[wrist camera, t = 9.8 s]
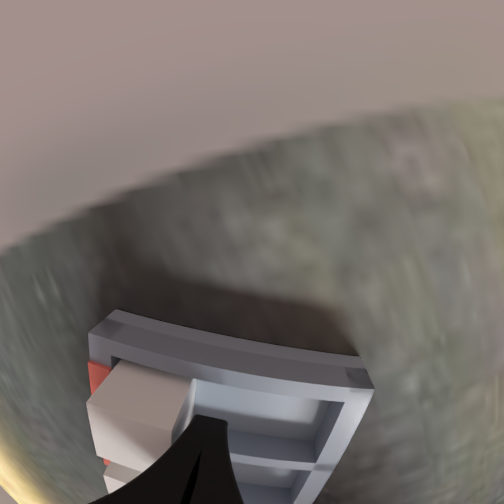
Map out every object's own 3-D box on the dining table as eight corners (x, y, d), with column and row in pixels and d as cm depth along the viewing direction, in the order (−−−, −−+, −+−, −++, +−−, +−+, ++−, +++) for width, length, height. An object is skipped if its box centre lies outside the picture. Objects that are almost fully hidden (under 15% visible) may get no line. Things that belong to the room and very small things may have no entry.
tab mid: (192, 435, 13) (172, 497, 9) (189, 468, 14) (172, 524, 10) (134, 419, 13) (103, 474, 9) (137, 454, 14) (112, 505, 10)
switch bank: (360, 356, 13) (376, 392, 10) (285, 513, 16) (285, 543, 13) (115, 309, 13) (85, 334, 10) (129, 482, 16) (117, 508, 13)
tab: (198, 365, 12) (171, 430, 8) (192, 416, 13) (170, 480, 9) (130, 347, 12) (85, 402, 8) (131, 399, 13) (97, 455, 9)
